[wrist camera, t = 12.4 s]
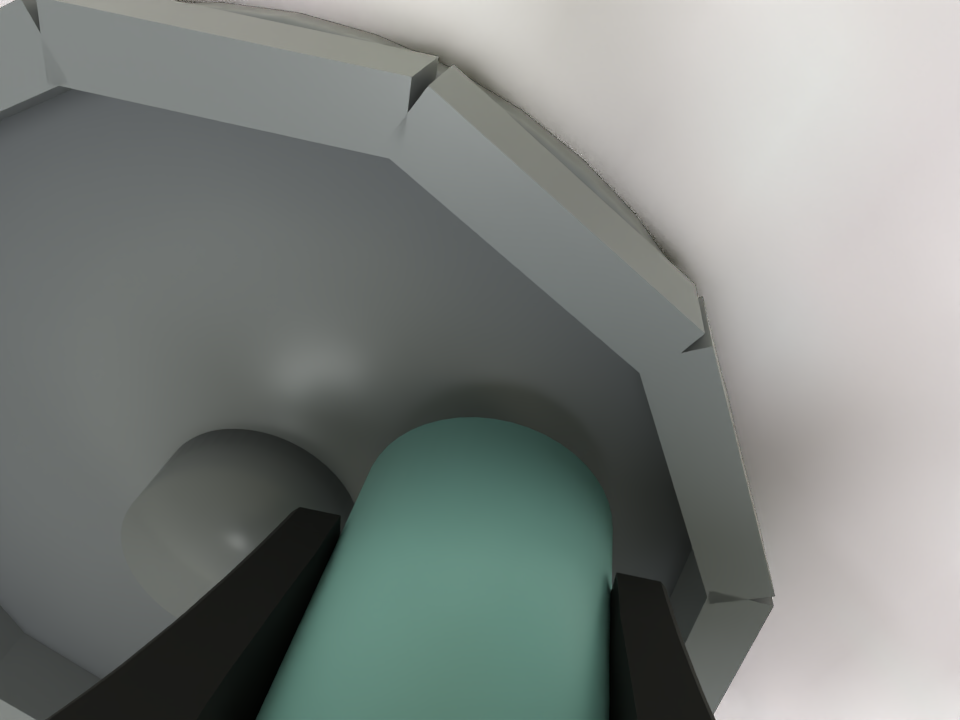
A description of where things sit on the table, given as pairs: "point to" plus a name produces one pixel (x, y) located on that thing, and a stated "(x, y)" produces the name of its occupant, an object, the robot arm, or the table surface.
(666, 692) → the robot arm
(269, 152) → the ring tray
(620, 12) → the table surface
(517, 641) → the teal cylinder
